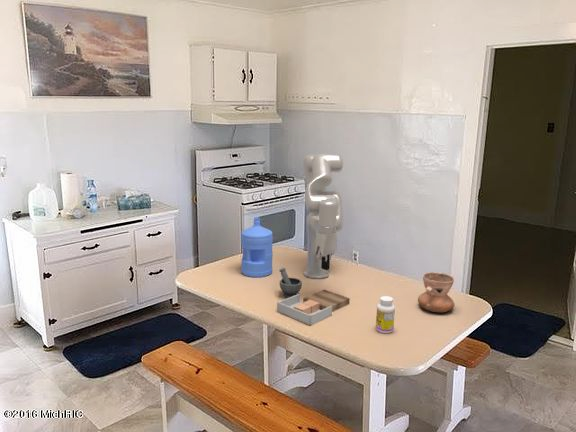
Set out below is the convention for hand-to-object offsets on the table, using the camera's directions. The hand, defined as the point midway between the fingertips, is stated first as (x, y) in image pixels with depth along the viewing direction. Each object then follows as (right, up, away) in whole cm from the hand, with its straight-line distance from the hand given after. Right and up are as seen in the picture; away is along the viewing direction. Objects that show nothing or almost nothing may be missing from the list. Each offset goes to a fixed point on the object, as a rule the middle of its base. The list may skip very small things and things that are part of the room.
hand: (325, 268), depth 211 cm
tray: (-10, -17, -13) cm, 23 cm away
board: (0, -15, -3) cm, 15 cm away
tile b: (-10, -16, -14) cm, 24 cm away
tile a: (-7, -16, -10) cm, 20 cm away
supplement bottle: (+20, -21, -26) cm, 39 cm away
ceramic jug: (+46, -16, -5) cm, 49 cm away
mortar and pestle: (-16, -13, +5) cm, 21 cm away
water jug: (-32, -6, +34) cm, 47 cm away
